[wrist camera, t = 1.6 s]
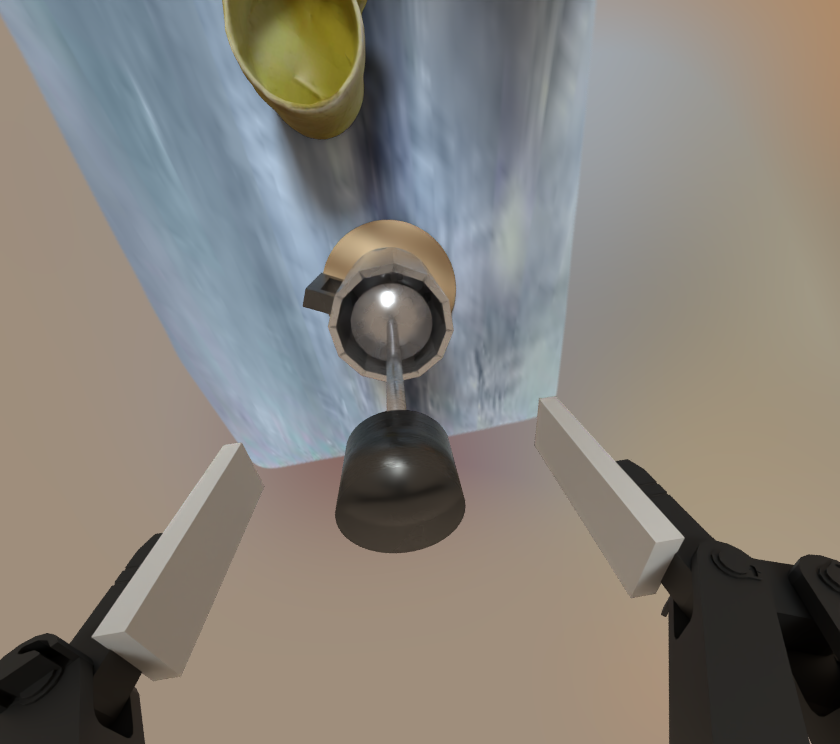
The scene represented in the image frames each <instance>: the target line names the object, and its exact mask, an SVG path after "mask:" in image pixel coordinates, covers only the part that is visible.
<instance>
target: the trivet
mask: <svg viewBox="0 0 840 744" xmlns="http://www.w3.org/2000/svg"><path fill="white" fill-rule="evenodd" d="M382 247H396V248H401V249H404V250H406V251H409V252H411V253H412V254H414V255H416V256H417V257H418V258H419V259H420V260H421V261H422V262H423V263H424V264H425V266H426V267H427V269H428V270H429V272H430V273H431V274H432V276H433V277H434V279H435V280H436V282H437V283H438V285H439V286H440V288H441V289H442V290H443V292H444V293H445V295H446V296H447V298H448V299H449V303H450V310H451V312H452V309H453V306H454V301H455V294H456V283H455V276H454V271H453V268H452V265H451V262H450V260H449V258H448V256H447V254H446V253H445V251H444V250H443V248H442V247H441V246H440V245H439V243H438V242H437V241H436V240H435V239H434V238H433V237H431V236H430V235H429V234H428V233H426V232H425V231H423V230H422V229H420V228H418V227H416V226H414V225H412V224H409V223H406V222H402V221H396V220H379V221H373V222H369V223H366V224H363V225H361V226H359V227H357V228H355V229H353V230H352V231H350V232H349V233H347V234H346V235H345V236H344V237H343V238H342V239H341V240H340V241H339V242H338V243H337V244H336V246H335V247H334V248H333V250H332V252H331V253H330V255H329V257H328V260H327V262H326V264H325V268H324V272H323V273H324V274H327V275H330V276H334V277H337V278H340V279H343V280H344V279H345V277H346V275H347V274H348V272H349V270H350V269H351V268H352V267H353V265H354V264H355V263H356V261H357V260H358V259H359V258H360V257H362V256H363V255H364V254H366V253H367V252H369V251H372V250H374V249H377V248H382ZM330 315H331V314H329V316H330Z"/></svg>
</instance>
